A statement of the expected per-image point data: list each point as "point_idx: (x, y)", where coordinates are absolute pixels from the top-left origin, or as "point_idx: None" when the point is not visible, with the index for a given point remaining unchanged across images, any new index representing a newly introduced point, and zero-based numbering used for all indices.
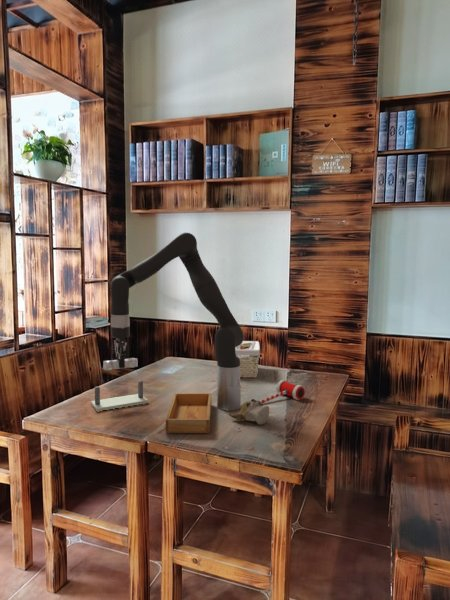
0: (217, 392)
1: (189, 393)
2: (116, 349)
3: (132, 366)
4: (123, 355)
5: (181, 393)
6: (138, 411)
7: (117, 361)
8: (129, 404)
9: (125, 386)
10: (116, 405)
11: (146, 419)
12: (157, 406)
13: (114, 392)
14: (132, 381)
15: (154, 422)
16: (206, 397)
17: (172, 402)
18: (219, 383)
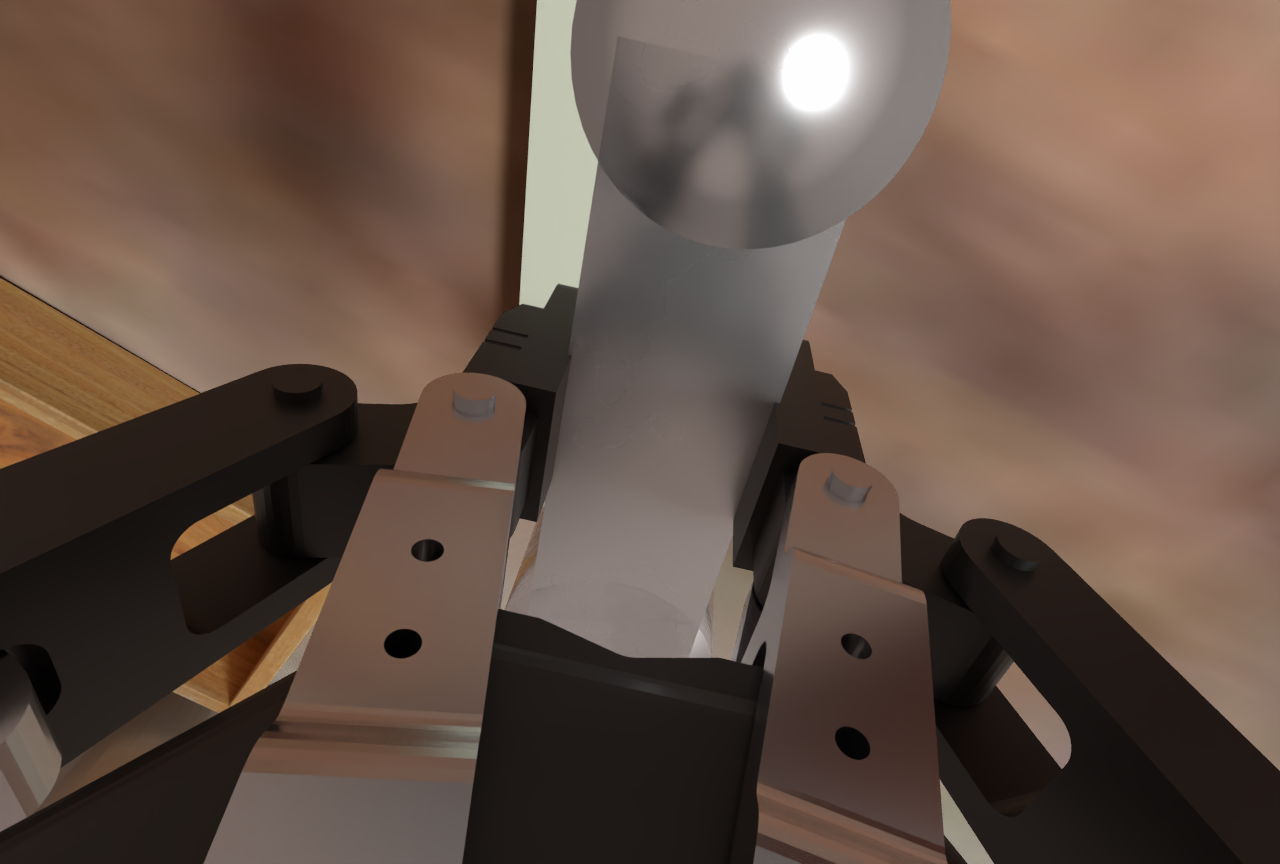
0: (143, 737)
1: (294, 637)
2: (779, 629)
3: (537, 521)
4: (270, 515)
5: (320, 602)
6: (356, 185)
7: (580, 319)
8: (529, 185)
9: (1180, 460)
10: (537, 17)
11: (107, 138)
12: (411, 388)
13: (1111, 276)
14: (1251, 578)
15: (11, 161)
16: (250, 674)
17: (84, 433)
18: (46, 806)
